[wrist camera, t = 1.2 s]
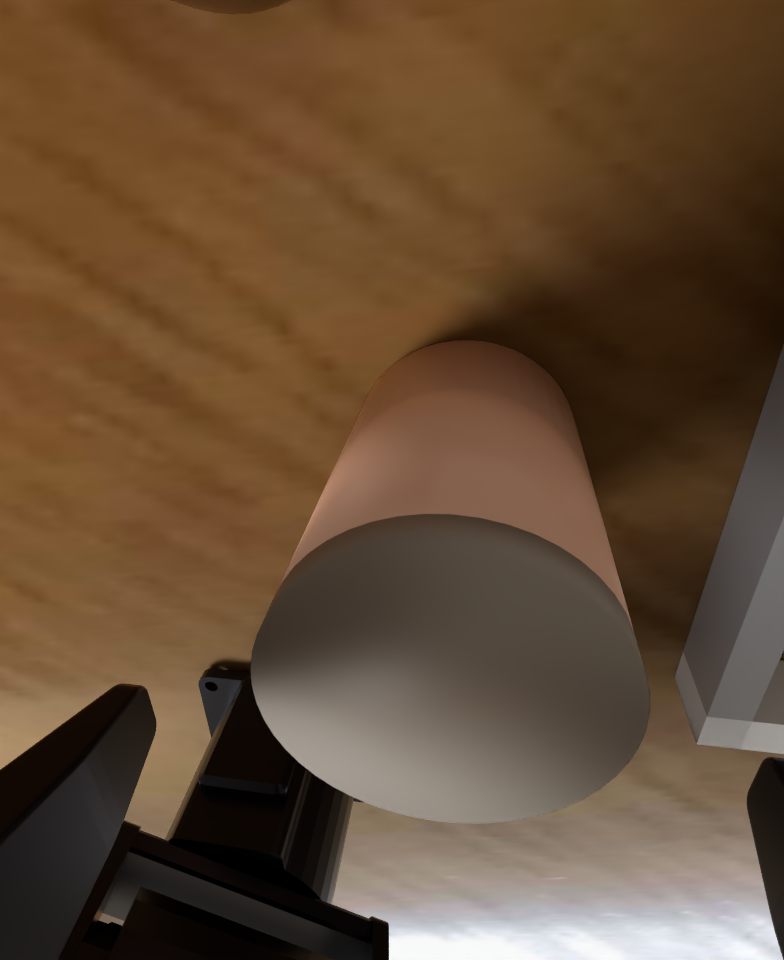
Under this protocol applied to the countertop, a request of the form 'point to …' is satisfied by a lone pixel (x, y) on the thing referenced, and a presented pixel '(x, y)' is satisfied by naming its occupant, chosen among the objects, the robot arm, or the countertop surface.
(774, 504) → the pusher lane
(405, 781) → the terracotta jar
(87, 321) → the countertop surface
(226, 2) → the supplement bottle
